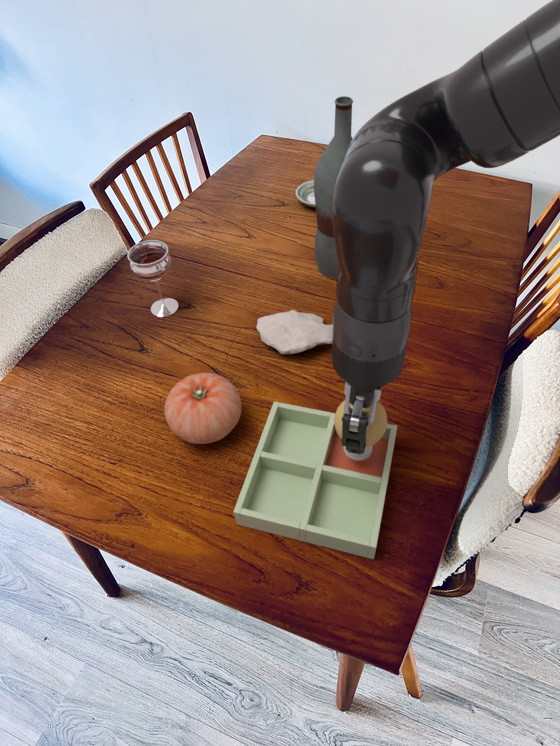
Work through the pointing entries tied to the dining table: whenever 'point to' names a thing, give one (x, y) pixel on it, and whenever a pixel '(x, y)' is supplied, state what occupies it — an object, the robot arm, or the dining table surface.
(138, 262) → the wineglass
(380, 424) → the light bulb
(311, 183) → the saucer
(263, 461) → the grid
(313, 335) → the decorative stone
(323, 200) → the bottle
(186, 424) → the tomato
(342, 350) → the robot arm
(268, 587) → the dining table surface
